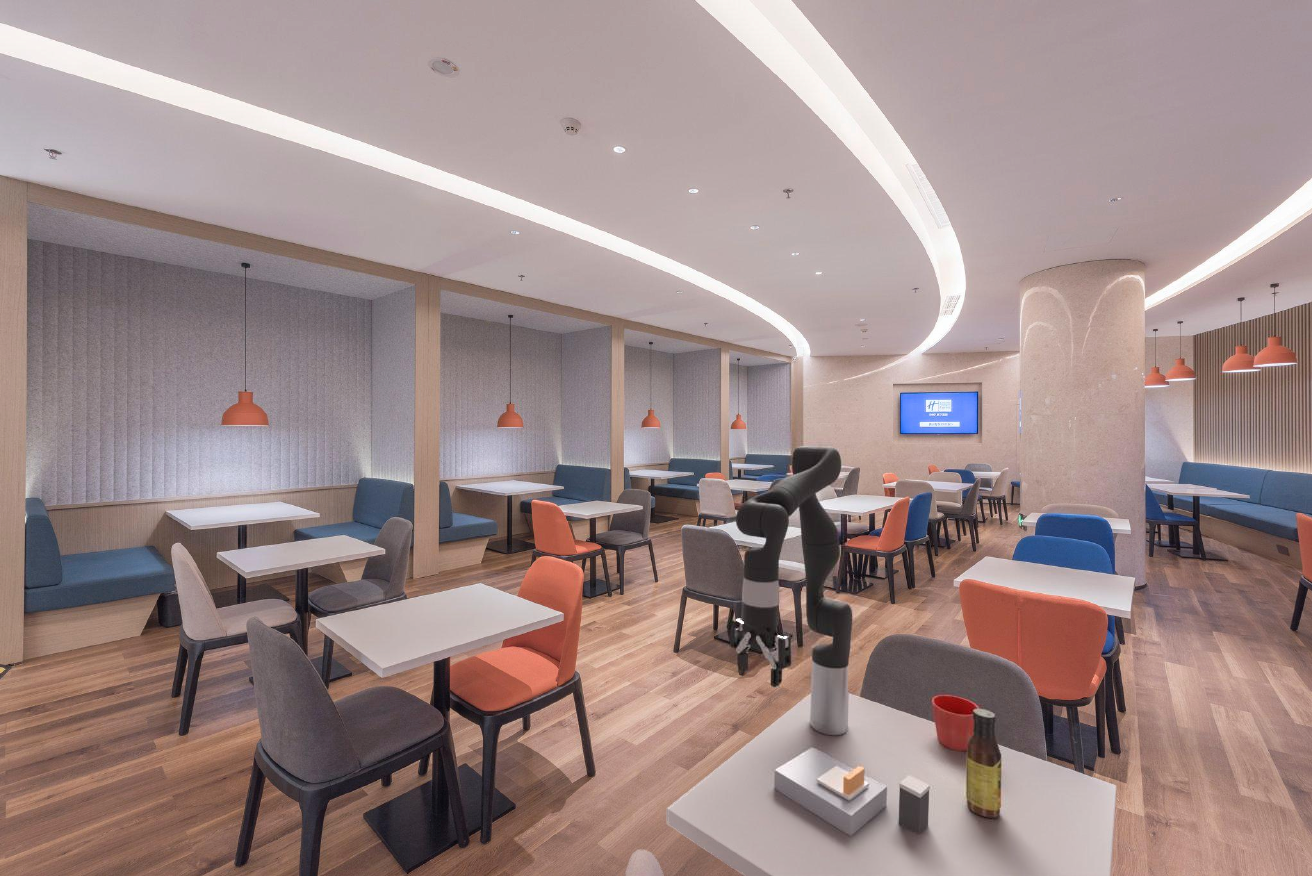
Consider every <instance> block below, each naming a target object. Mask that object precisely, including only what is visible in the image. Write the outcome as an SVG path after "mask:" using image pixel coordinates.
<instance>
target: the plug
mask: <svg viewBox="0 0 1312 876" xmlns="http://www.w3.org/2000/svg"><path fill="white" fill-rule="evenodd" d="M898 786H899V794H898V795H899V797H898V798H899V799H898V824H899V825H901V826H902V827H904V828H907V829H908V830H910V831H912V832H914V833H915V834H916V835H920V834H922V832H923V831H924V830H925V829H926V828H927V827H928V826H929V811H930V810H929V807H930V806H929V805H930V787H931V786H930V784H928V783H926V782H924V781H922V780H920V779H918V778H916V777H914V776H912V775H909V774H908V775H907V776H906V777H905V778H904V779H903V780H901V781H900V782H899V783H898Z"/></svg>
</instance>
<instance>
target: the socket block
mask: <svg viewBox="0 0 1312 876" xmlns="http://www.w3.org/2000/svg"><path fill="white" fill-rule="evenodd" d="M835 766H838V767H840V768H842V769H844V770H846V771H847V772H849V773H850V772H851V771H852V770H854V769H855V768H852V767H850V766H849V765H847V764H845V763H842V762H841V761H839V760H837V759H836V758H833V757H832V756H830V755H828V754H826V753H824V752H822V751H820V750H818V749H816V748H814V747H810V748H808V749H807V750H805V751H804V752H802V753H800V754H799V755H797V756H796V757H793V758H792V759H791V760H788V761H786V762H785V763H783V764H782V765H781V766H779V767H777V768H776V769H774V779H773V780H774V784H773V786H774V787H773V789H775V791H778V793H780V794H782V795H784V796H786V797H787V798H789V799H791V800H792V801H793V802H795V803H797V804H798V805H800V806H802V807H803V808H805V809H807V810H808V811H809V812H811V813H813V814H814V815H816V816H817V817H819V818H821V819H822V820H824V821H825V822H827V823H829V824H830V825H832V826H833V827H835V828H837V829H838V830H840V831H842V832H843V833H845V834H846V835H848V836H849V837H853V835H854V834H855V833H857V831H859V830H861V828H862V827H863V826H865V825H866V824H867V823H868V822H869V821H871V820H872V819H873V818H874V817H876V816H877V815H878V814H879V813H880V812H881V811H882V810H883V809H885V808H886V807H887V804H888V803H887V802H888V801H887V800H888V799H887V798H888V797H887V796H888V786H887V785H885V784H883V783H881V782H879V781H877V780H875V779H873V778H871V777H869V776H867V775H866V774H864V781H866V782H868V783H869V786H868V787H867V788H866V789H864V790H863V791H862V792H860V793H859V794H858V795H856V796H855V797H854V798H853V799H851V800H850V801H849V800H847V799H845V798H844V797H842V796H840V795H839V794H837V793H835V792H833V791H832V790H830V789H828V788H826V787H825V786H823V785H821V784H819V783H818V782H817V778H819V777H820V776H822V775H823V774H825V773H826V772H828V771H829V770H831V769H832V768H834V767H835Z"/></svg>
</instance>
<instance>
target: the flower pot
mask: <svg viewBox="0 0 1312 876" xmlns="http://www.w3.org/2000/svg"><path fill="white" fill-rule="evenodd" d="M931 700H932V701H931V704H932V713H933V718H934V724H935V730H936V731H935V732H936V737H937V740H938V742H939V743H940V744H941V745H943V746H944V747H946V748H949V749H952V750H954V751H959V752H960V751H961V752H963V751H966V752H967V743H968V739H969V738H970V736H971V735H972V734H973V732H974V731H973V728H974V718H973V710H974V709H980V707H979V705H978V704H976V703H975V702H972V701H971V700H968V699H965V698H963V697H960V696H955V695H951V694H950V695H949V694H939V695H936V696H933V697H932V699H931Z"/></svg>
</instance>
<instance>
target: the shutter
mask: <svg viewBox="0 0 1312 876" xmlns="http://www.w3.org/2000/svg"><path fill="white" fill-rule="evenodd" d="M853 769H854V770H852V771H851V772H850V773H849V772H847V771H846V770H844V769H842V768H840V767H838V766H835V767H834V768H832V769H831V770H829V771H828V772H826V773H825V774H823V775H822V776H820V777H819V778H817V782H818V783H819V784H821V785H823V786H825V787H826V788H828V789H830V790H832V791H833V792H835V793H837V794H839V795H840V796H842V797H844V798H845V799H847V800H849V801H850V800H851V799H853V798H854V797H855V796H856V795H858V794H859V793H860V792H862V791H863V790H864V789H866V788H867V787H868V786H869V783H868V782H866V781H864V775H865V772H866V771H865V768H864V767H863V766H861V765H858V766H857V767H855V768H853Z"/></svg>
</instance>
